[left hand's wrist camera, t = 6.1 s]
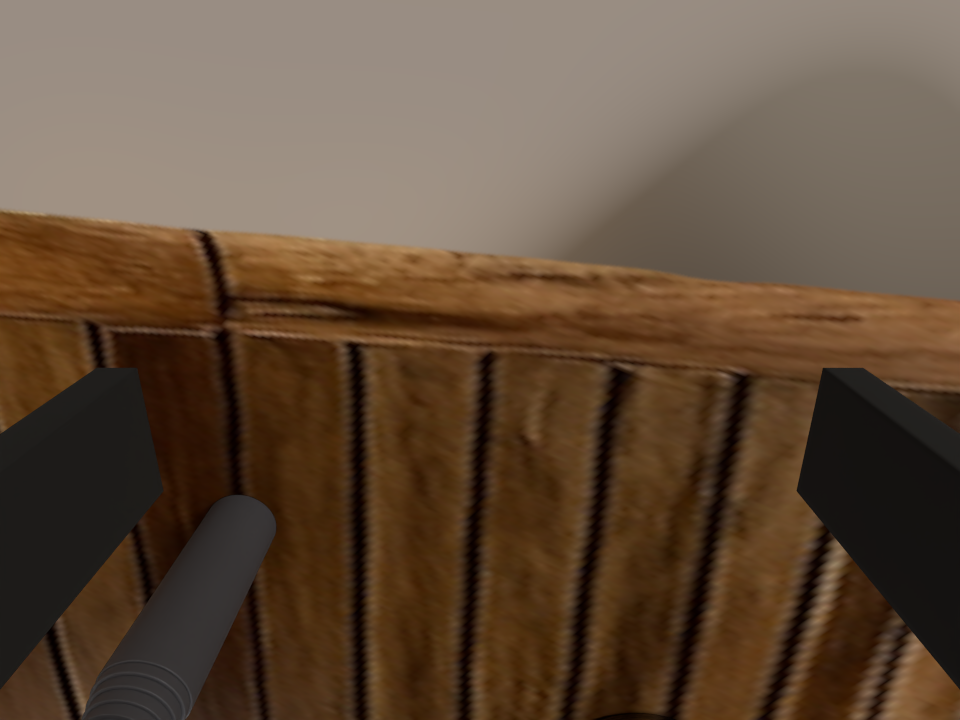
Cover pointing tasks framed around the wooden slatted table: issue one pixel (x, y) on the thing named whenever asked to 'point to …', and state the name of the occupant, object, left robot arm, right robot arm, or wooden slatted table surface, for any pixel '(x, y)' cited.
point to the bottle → (185, 618)
